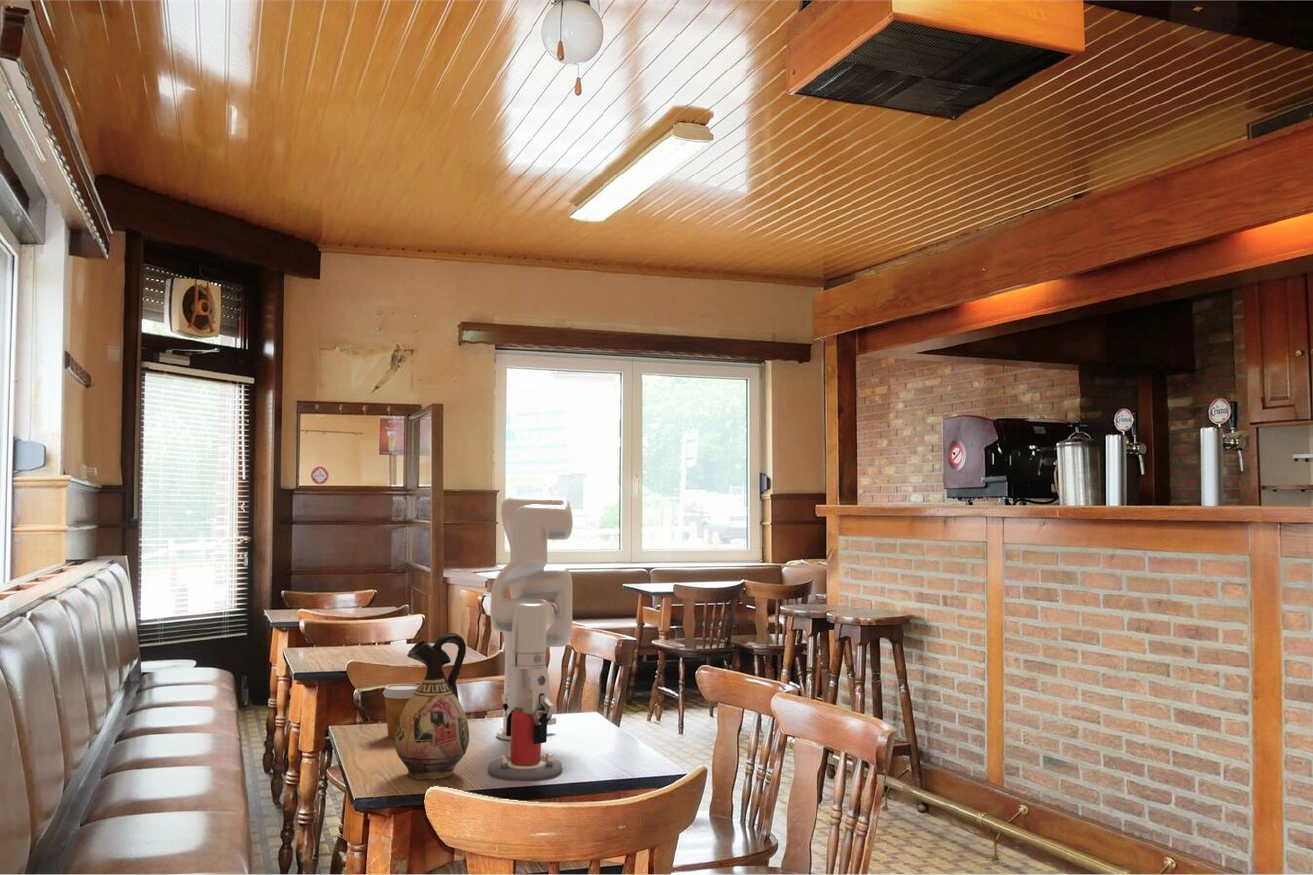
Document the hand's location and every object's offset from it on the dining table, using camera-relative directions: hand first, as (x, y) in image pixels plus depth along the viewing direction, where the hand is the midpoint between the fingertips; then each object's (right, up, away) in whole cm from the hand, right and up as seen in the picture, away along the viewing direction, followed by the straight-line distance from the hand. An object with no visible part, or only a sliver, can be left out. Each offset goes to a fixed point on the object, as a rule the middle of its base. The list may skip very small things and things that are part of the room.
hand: (526, 739), depth 224 cm
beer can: (0, -5, 0) cm, 5 cm away
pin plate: (0, -7, 0) cm, 7 cm away
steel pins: (-1, -5, -1) cm, 5 cm away
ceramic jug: (-19, -6, -5) cm, 20 cm away
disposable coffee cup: (-35, -9, +32) cm, 48 cm away
